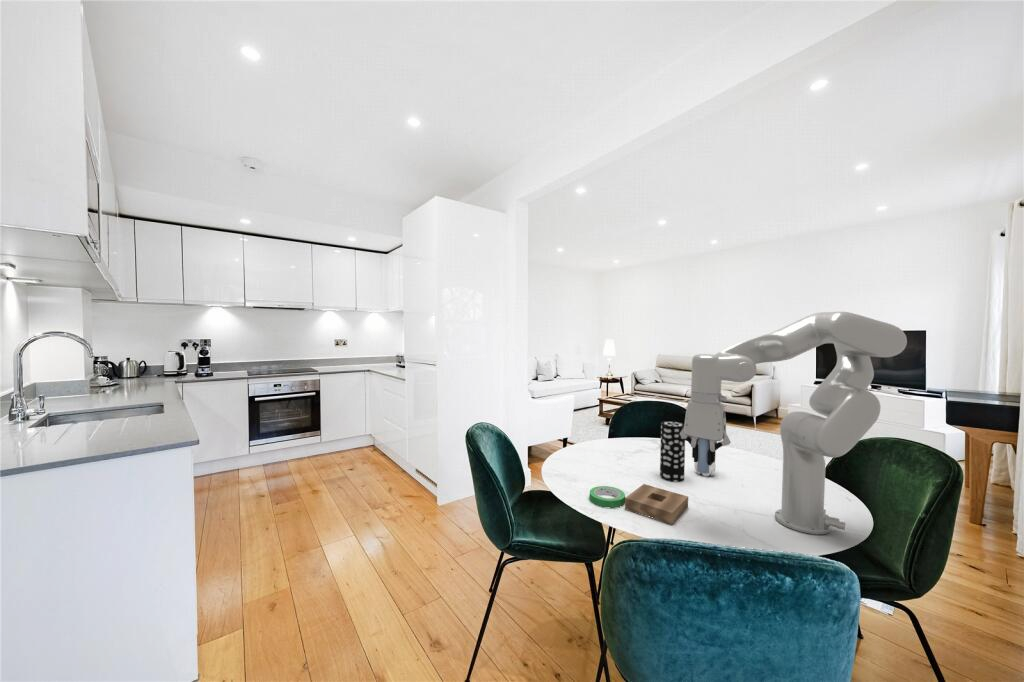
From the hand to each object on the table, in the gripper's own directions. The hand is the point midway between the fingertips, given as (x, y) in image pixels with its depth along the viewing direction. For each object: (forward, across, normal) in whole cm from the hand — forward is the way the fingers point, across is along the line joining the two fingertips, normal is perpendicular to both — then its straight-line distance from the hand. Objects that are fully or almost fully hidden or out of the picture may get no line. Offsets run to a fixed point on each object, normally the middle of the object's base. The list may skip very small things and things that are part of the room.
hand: (703, 461), depth 108 cm
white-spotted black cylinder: (+17, +17, -28) cm, 37 cm away
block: (+17, +13, 0) cm, 21 cm away
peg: (+3, 0, 0) cm, 3 cm away
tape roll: (+18, +27, +5) cm, 33 cm away
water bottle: (+17, +9, -40) cm, 44 cm away
